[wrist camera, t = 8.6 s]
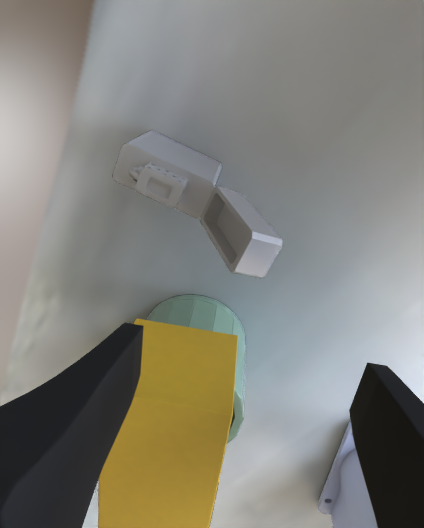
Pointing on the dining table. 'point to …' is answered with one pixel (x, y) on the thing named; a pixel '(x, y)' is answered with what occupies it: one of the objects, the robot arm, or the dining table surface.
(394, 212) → the dining table surface
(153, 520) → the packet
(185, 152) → the lighter
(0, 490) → the robot arm
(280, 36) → the dining table surface
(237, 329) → the mug
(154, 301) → the dining table surface
